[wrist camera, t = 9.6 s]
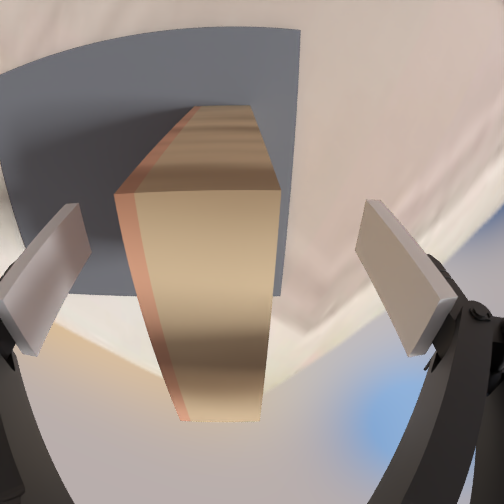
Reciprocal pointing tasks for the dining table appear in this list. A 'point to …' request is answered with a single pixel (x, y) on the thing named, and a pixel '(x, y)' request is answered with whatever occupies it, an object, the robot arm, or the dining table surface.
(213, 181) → the tan block
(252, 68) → the slate mat
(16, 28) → the dining table surface
